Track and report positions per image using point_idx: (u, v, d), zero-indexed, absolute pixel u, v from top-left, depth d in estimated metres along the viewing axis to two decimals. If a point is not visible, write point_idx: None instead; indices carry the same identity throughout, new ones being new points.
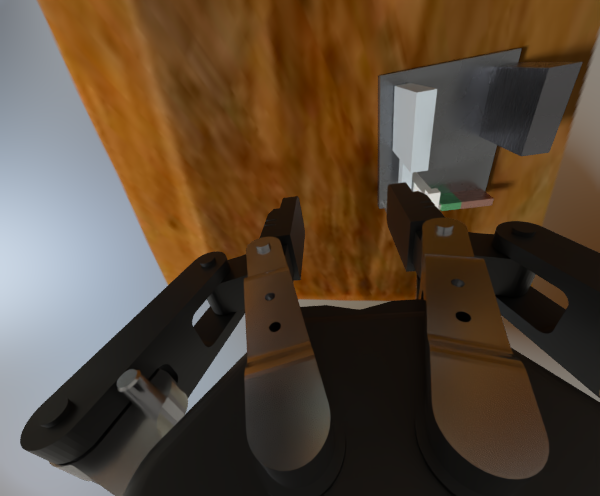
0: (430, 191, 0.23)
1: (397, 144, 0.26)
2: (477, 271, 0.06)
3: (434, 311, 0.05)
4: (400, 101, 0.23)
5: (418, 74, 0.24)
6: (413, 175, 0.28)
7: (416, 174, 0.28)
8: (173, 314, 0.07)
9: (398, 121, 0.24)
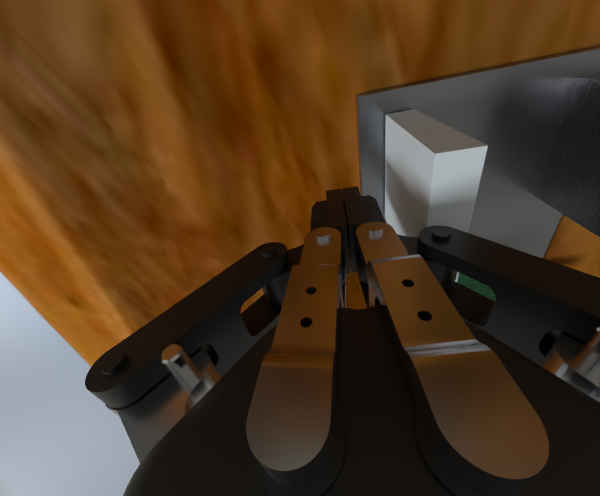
0: None
1: (392, 217, 0.14)
2: (419, 268, 0.06)
3: (398, 318, 0.05)
4: (396, 148, 0.12)
5: (429, 93, 0.13)
6: None
7: None
8: (224, 299, 0.07)
9: (393, 181, 0.13)
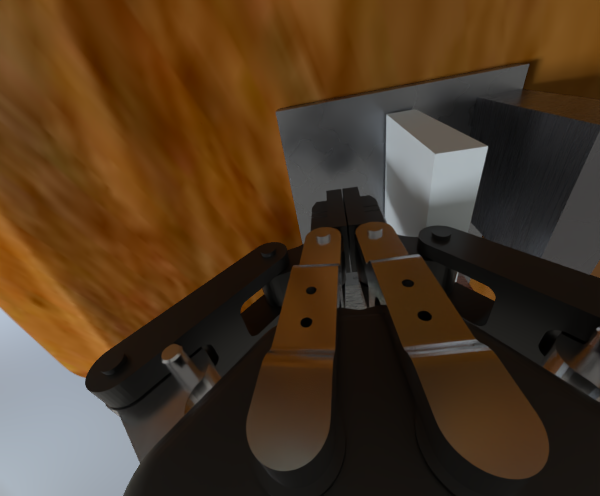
0: None
1: (392, 217, 0.14)
2: (419, 268, 0.06)
3: (398, 318, 0.05)
4: (396, 148, 0.12)
5: (342, 109, 0.13)
6: None
7: None
8: (224, 299, 0.07)
9: (393, 180, 0.13)
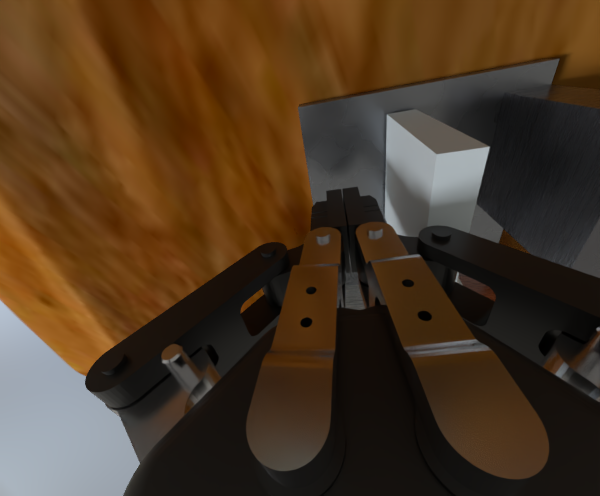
0: None
1: (392, 217, 0.14)
2: (419, 268, 0.06)
3: (398, 317, 0.05)
4: (397, 148, 0.12)
5: (366, 105, 0.13)
6: None
7: None
8: (224, 300, 0.07)
9: (393, 181, 0.13)
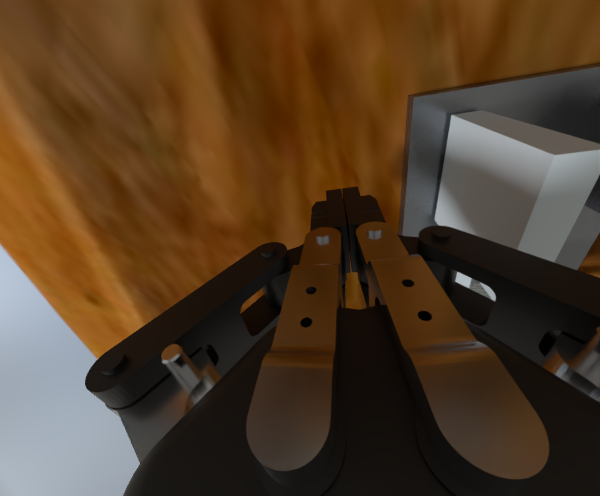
0: None
1: (450, 220, 0.14)
2: (419, 268, 0.06)
3: (398, 317, 0.05)
4: (469, 149, 0.11)
5: (487, 96, 0.12)
6: None
7: None
8: (223, 299, 0.07)
9: (458, 183, 0.13)
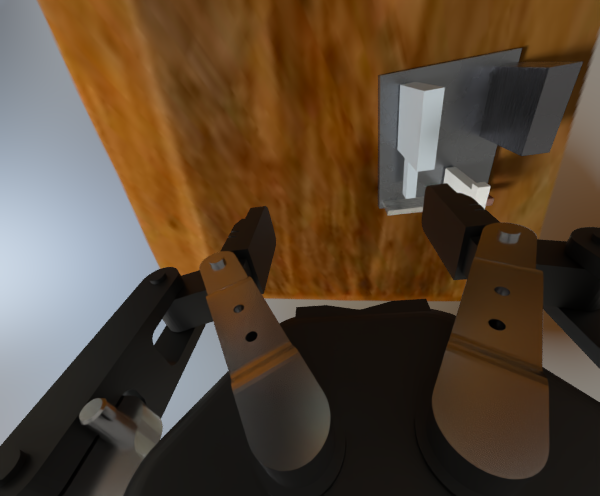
0: (479, 185, 0.23)
1: (402, 143, 0.25)
2: (530, 283, 0.05)
3: (465, 313, 0.05)
4: (406, 100, 0.23)
5: (418, 74, 0.24)
6: (453, 170, 0.28)
7: (456, 169, 0.28)
8: (131, 335, 0.06)
9: (404, 120, 0.24)
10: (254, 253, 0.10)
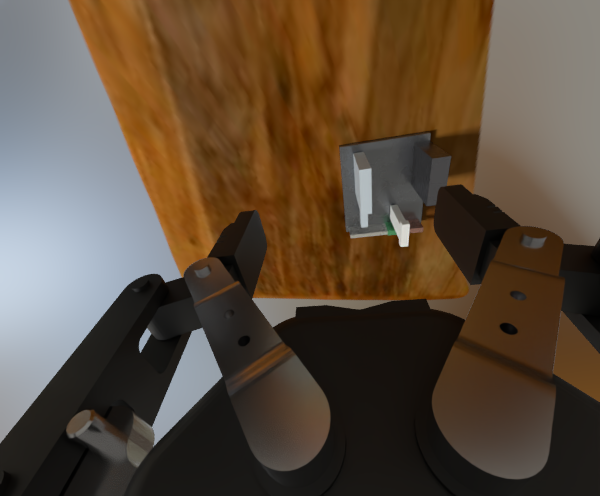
0: (403, 222, 0.34)
1: (356, 191, 0.37)
2: (549, 289, 0.05)
3: (475, 314, 0.05)
4: (355, 166, 0.35)
5: (365, 147, 0.36)
6: (394, 207, 0.39)
7: (396, 206, 0.39)
8: (116, 344, 0.06)
9: (355, 177, 0.36)
10: (241, 259, 0.09)
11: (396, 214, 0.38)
